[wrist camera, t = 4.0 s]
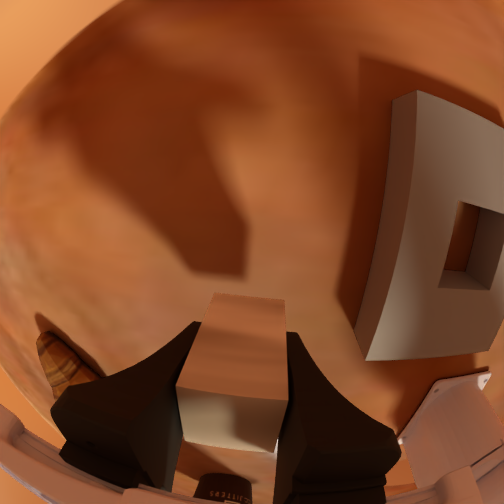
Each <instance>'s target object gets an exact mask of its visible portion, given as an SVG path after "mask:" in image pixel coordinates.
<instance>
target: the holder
mask: <svg viewBox="0 0 504 504" xmlns="http://www.w3.org/2000/svg"><path fill="white" fill-rule="evenodd" d="M458 201H462V202H466V203H469V204H473V205H476V206H480V213H479V218H478V223H477V228H476V233H475V237H474V241H473V245H472V249H471V253H470V257H469V261H468V264H467V268H466V271H465V272H463V271H453V270H443V268H444V264H445V261H446V257H447V253H448V249H449V245H450V241H451V236H452V232H453V227H454V222H455V217H456V212H457V206H458ZM503 319H504V129H503V128H502V127H500V126H498V125H496V124H494V123H492V122H491V121H489V120H487V119H485V118H483V117H481V116H479V115H477V114H475V113H473V112H471V111H469V110H467V109H464V108H462V107H460V106H458V105H455V104H453V103H451V102H448V101H446V100H444V99H441V98H439V97H436V96H433V95H431V94H428V93H425V92H423V91H420V90H415V91H413V92H410V93H408V94H405V95H403V96H401V97H398V98H396V99H394V100H392V119H391V135H390V148H389V159H388V168H387V176H386V184H385V192H384V199H383V205H382V211H381V217H380V223H379V229H378V234H377V239H376V244H375V249H374V254H373V259H372V263H371V268H370V272H369V276H368V280H367V284H366V288H365V292H364V296H363V300H362V303H361V307H360V311H359V314H358V318H357V321H356V325H355V328H354V333H355V336H356V338H357V341H358V343H359V346H360V348H361V351H362V354H363V356H364V359H365V361H378V360H405V359H421V358H434V357H445V356H454V355H462V354H470V353H477V352H484V351H489V349H490V347H491V345H492V343H493V341H494V339H495V336H496V334H497V332H498V330H499V328H500V326H501V323H502V321H503Z"/></svg>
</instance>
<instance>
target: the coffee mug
mask: <svg viewBox="0 0 504 504" xmlns="http://www.w3.org/2000/svg"><path fill="white" fill-rule="evenodd" d="M193 498H198V499H204V500H210V501H216V502H223V503H230V504H252V486H251V483H250V482H249V481H248V480H246V479H244V478H241V477H238V476H234V475H228V474H219V473H212V474H205V475H203V476H202V477H201V478H200V481H199V484H198V486H197V489H196V491H195V494H194V496H193Z"/></svg>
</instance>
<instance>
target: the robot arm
mask: <svg viewBox="0 0 504 504" xmlns="http://www.w3.org/2000/svg"><path fill="white" fill-rule="evenodd" d="M201 323H202V322H196V321H194V322H192V323H191V324H190V325H189V326H187V327H186V328H185V329H184V330H183V331H182V332H181V333H180V334H178V335H177V336H176V337H175V338H174V339H172V340H171V341H170V342H169V343H167V344H166V345H165V346H164V347H162V348H161V349H159V350H158V351H157V352H155V353H154V354H152V355H151V356H149V357H148V358H146V359H144V360H143V361H141V362H139V363H137V364H135V365H134V366H132V367H129V368H127V369H125V370H122V371H120V372H118V373H116V374H113V375H110V376H107V377H104V378H101V379H98V380H94V381H90V382H86V383H81V384H76V385H70V386H68V387H67V388H66V389H65V390H64V391H63V393H62V394H61V395H60V397H59V398H58V399H57V401H56V402H55V403H54V405H53V406H52V408H51V410H50V412H51V416H52V419H53V421H54V422H55V424H56V425H57V427H58V428H59V430H60V431H61V433H62V434H63V436H64V437H65V439H66V440H67V441H66V443H65V444H64V446H63V447H62V449H58V448H57V447H55V446H53V445H52V444H50V443H48V442H46V441H45V440H43V439H42V438H40V437H38V436H37V435H35V434H33V433H32V432H30V431H29V430H27V429H26V428H25V427H24V425H23V423H22V422H21V421H20V419H19V418H18V417H17V416H16V415H14V414H13V413H12V412H11V411H9V410H8V409H7V408H5V407H4V406H3V405H1V404H0V467H1V468H2V469H3V470H4V471H6V472H7V473H8V474H9V475H11V476H12V477H13V478H14V479H15V480H17V481H18V482H19V483H21V484H22V485H23V486H25V487H26V488H27V489H29V490H30V491H31V492H33V493H34V494H36V495H37V496H38V497H40V498H41V499H43V500H44V501H46V502H48V503H49V504H230V503H223V502H216V501H210V500H204V499H198V498H193V497H189V496H184V495H180V494H175V493H171V491H172V485H173V480H174V474H175V469H176V464H177V459H178V455H179V450H180V446H181V442H182V437H183V428H182V423H181V417H180V411H179V405H178V399H177V393H176V383H177V381H178V378H179V376H180V374H181V371H182V369H183V366H184V364H185V361H186V359H187V357H188V354H189V352H190V349H191V347H192V345H193V342H194V340H195V338H196V335H197V333H198V330H199V328H200V326H201ZM286 344H287V371H288V404H287V407H286V411H285V415H284V418H283V422H282V425H281V429H280V432H279V436H278V451H277V465H276V477H275V487H274V497H273V504H504V426H503V425H502V423H501V421H500V419H499V418H498V416H497V414H496V413H495V411H494V409H493V408H492V406H491V405H490V403H489V401H488V400H487V398H486V397H485V395H484V394H483V392H482V389H483V388H484V386H485V384H486V383H487V381H488V380H489V378H490V376H491V372H490V371H486V372H482V373H477V374H472V375H467V376H461V377H456V378H450V379H443V380H438V381H436V382H435V383H434V385H433V386H432V388H431V390H430V391H429V393H428V395H427V396H426V398H425V399H424V401H423V402H422V404H421V406H420V407H419V409H418V410H417V412H416V413H415V415H414V416H413V418H412V419H411V420H410V422H409V423H408V425H407V426H406V427H405V429H404V430H403V431H402V433H401V434H400V435H399V437H398V438H397V437H396V435H395V433H394V431H393V429H391V428H389V427H387V426H385V425H383V424H382V423H380V422H378V421H376V420H374V419H373V418H371V417H370V416H368V415H367V414H365V413H364V412H362V411H361V410H359V409H358V408H357V407H355V406H354V405H353V404H352V403H351V402H349V401H348V400H347V399H346V398H345V397H344V396H342V395H341V394H340V393H339V392H338V391H337V390H336V389H335V388H334V386H333V385H332V384H331V383H330V382H329V381H328V380H327V378H326V377H325V376H324V375H323V373H322V372H321V371H320V369H319V368H318V367H317V365H316V364H315V362H314V361H313V359H312V358H311V356H310V354H309V353H308V351H307V349H306V348H305V346H304V344H303V342H302V340H301V338H300V336H299V335H298V333H296V332H286ZM399 444H403V445H404V448H405V451H406V454H407V457H408V460H409V464H410V467H411V470H412V474H413V477H414V481H415V484H416V486H417V488H418V489H416V490H413V491H409V492H405V493H401V494H397V495H393V496H388V497H386V496H385V491H384V485H386V477H385V474H386V473H387V472H388V471H389V470H390V469H391V468H392V467H393V466H394V465H395V464H396V463H397V461H398V460H399V459H400V457H401V453H402V452H401V449H400V446H399Z"/></svg>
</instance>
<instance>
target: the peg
mask: <svg viewBox="0 0 504 504" xmlns="http://www.w3.org/2000/svg"><path fill="white" fill-rule="evenodd" d="M176 393H177V399H178V405H179V411H180V417H181V423H182V428H183V434H184V439H185V441H188V442H193V443H198V444H203V445H209V446H215V447H222V448H229V449H237V450H246V451H257V452H271V453H274V449H275V446H276V443H277V439H278V436H279V432H280V429H281V425H282V422H283V418H284V415H285V411H286V407H287V404H288V371H287V344H286V322H285V303H284V300H278V299H268V298H258V297H248V296H239V295H230V294H221V293H214V295H213V298H212V300H211V302H210V305H209V307H208V309H207V312H206V314H205V316H204V319H203V321H202V323H201V326H200V328H199V330H198V333H197V335H196V338H195V340H194V342H193V345H192V347H191V349H190V352H189V354H188V357H187V359H186V361H185V364H184V366H183V369H182V371H181V374H180V376H179V378H178V381H177V383H176Z"/></svg>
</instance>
